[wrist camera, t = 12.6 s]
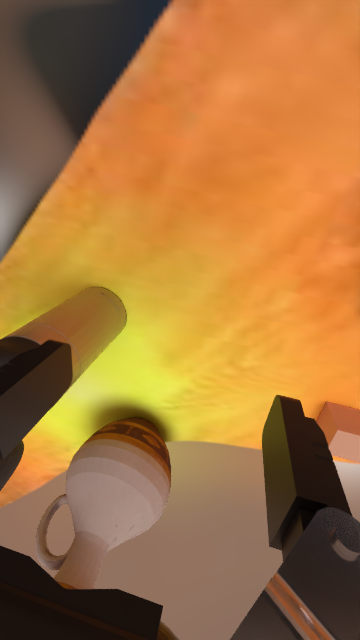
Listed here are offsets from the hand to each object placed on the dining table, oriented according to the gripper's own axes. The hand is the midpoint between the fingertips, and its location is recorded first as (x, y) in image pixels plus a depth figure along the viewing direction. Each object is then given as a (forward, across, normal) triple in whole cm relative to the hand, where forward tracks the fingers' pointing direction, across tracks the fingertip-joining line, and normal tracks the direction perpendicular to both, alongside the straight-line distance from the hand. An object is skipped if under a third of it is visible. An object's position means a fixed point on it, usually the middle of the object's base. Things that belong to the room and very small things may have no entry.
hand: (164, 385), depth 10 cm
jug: (+30, +10, +40) cm, 51 cm away
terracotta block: (+30, -24, +24) cm, 45 cm away
